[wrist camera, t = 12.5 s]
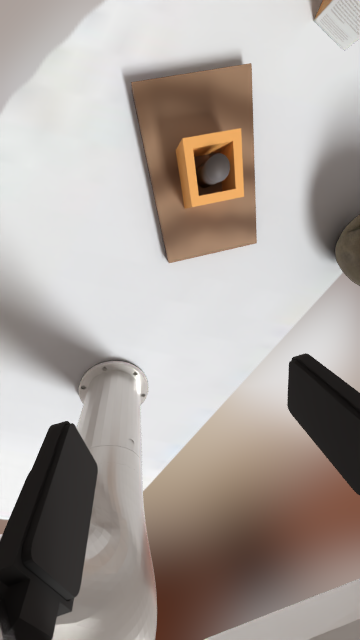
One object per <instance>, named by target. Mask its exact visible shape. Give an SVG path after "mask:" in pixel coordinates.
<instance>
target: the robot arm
mask: <svg viewBox="0 0 360 640" xmlns="http://www.w3.org/2000/svg"><path fill="white" fill-rule="evenodd" d="M147 394H148V381H147V378H146V376H145V374H144V373H143V372H142V371H141V370H140V369H139V368H138V367H136V366H135V365H132V364H130V363H127V362H123V361H108V362H103V363H100V364H98V365H95V366H94V367H92V368H90V369H89V370H88V371H87V372H86V373H85V374H84V376H83V377H82V380H81V382H80V385H79V396H80V399H81V401H82V403H83V408H82V411H81V415H80V418H79V421H78V425H77V428H76V427H75V425H74V424H73V423H72V424H70V423H69V422H68V421H65V422H62V423H58V424H55V425H52V426H50V428H49V430H48V432H47V434H46V437H45V439H44V442H43V444H42V446H41V449H40V451H39V453H38V456H37V458H36V461H35V463H34V465H33V468H32V470H31V471H30V473H29V475H28V476H27V478H26V481H25V483H24V486H23V488H22V490H21V493H20V495H19V497H18V500H17V502H16V504H15V507H14V509H13V511H12V514H11V516H10V518H9V521H8V523H7V526H6V528H5V530H4V533H3V534H0V640H155V634H156V624H157V599H156V587H155V578H154V571H153V565H152V559H151V554H150V548H149V542H148V537H147V530H146V523H145V514H144V503H143V485H142V444H141V404H142V403H143V402H144V401H145V399H146V397H147ZM288 409H289V411H290V413H291V414H292V415H293V417H294V418H295V419H296V420H297V421H298V423H299V424H300V425H301V426H302V428H303V429H304V430H305V431H306V432H307V434H308V435H309V436H310V437H311V439H312V440H313V441H314V442H315V443H316V445H317V446H318V447H319V448H320V450H321V451H322V452H323V453H324V455H325V456H326V457H327V458H328V459H329V461H330V462H331V463H332V464H333V466H334V467H335V468H336V469H337V470H338V472H339V473H340V474H341V475H342V477H343V478H344V479H345V480H346V481H347V483H348V484H349V485H350V486H351V488H353V490H354V491H355V492H356V493H357V494H359V495H360V393H359V392H358V391H356V390H355V389H354V388H352V387H351V386H350V385H348V384H347V383H346V382H344V381H343V380H342V379H341V378H339V377H338V376H337V375H335V374H334V373H333V372H331V371H330V370H329V369H327V368H326V367H325V366H323V365H322V364H321V363H319V362H318V361H317V360H315V359H314V358H313V357H311V356H310V355H309V354H302V355H299V356H296V357H293V358H292V361H291V362H290V363H289V380H288ZM204 640H360V579H358V580H355V581H353V582H350V583H347V584H345V585H342V586H340V587H337V588H335V589H332V590H329V591H327V592H324V593H321V594H319V595H316V596H314V597H311V598H309V599H306V600H303V601H301V602H298V603H296V604H293V605H291V606H289V607H286V608H283V609H280V610H278V611H275V612H273V613H271V614H268V615H265V616H262V617H260V618H257V619H255V620H253V621H250V622H248V623H245V624H242V625H240V626H237V627H235V628H232V629H229V630H227V631H224V632H222V633H219V634H217V635H214V636H212V637H209V638H206V639H204Z"/></svg>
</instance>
